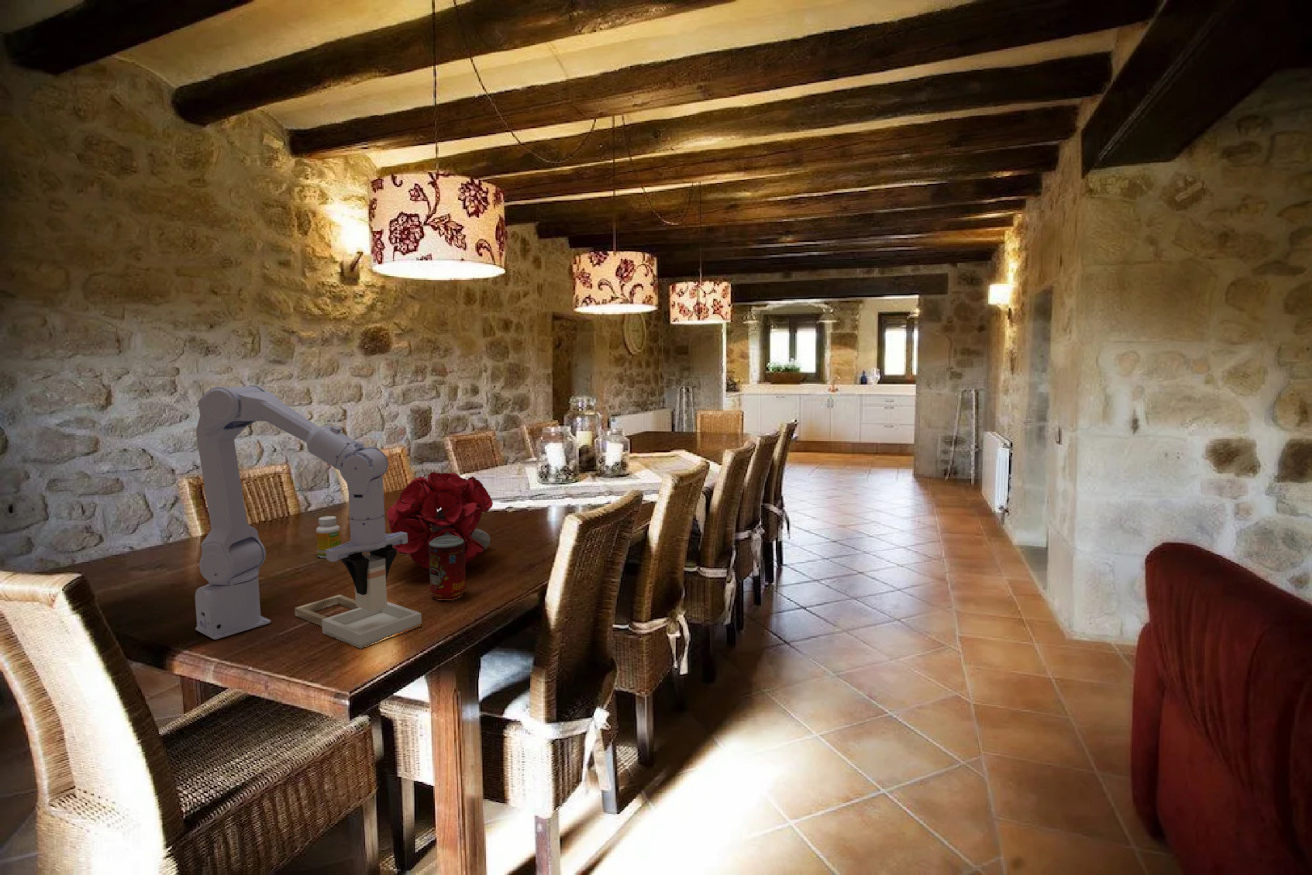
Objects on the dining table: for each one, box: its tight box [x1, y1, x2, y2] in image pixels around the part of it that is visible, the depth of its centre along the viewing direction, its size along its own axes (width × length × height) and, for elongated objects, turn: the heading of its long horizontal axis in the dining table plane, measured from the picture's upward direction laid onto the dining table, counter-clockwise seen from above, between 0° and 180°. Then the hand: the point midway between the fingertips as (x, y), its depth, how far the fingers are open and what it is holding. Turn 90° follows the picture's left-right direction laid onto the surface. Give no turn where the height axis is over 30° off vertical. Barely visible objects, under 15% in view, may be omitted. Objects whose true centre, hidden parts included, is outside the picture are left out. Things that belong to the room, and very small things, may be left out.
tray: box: [321, 601, 423, 650], centre depth 119 cm, size 12×12×2 cm
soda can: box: [429, 535, 467, 600], centre depth 136 cm, size 7×7×12 cm
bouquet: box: [386, 471, 494, 570], centre depth 158 cm, size 22×24×30 cm
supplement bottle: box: [315, 515, 342, 559], centre depth 165 cm, size 5×5×10 cm
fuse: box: [354, 553, 388, 612], centre depth 118 cm, size 3×5×9 cm, turn 55°
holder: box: [294, 594, 359, 627], centre depth 127 cm, size 9×11×2 cm
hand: (371, 590), depth 118 cm, fingers closed on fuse, 3 cm apart
